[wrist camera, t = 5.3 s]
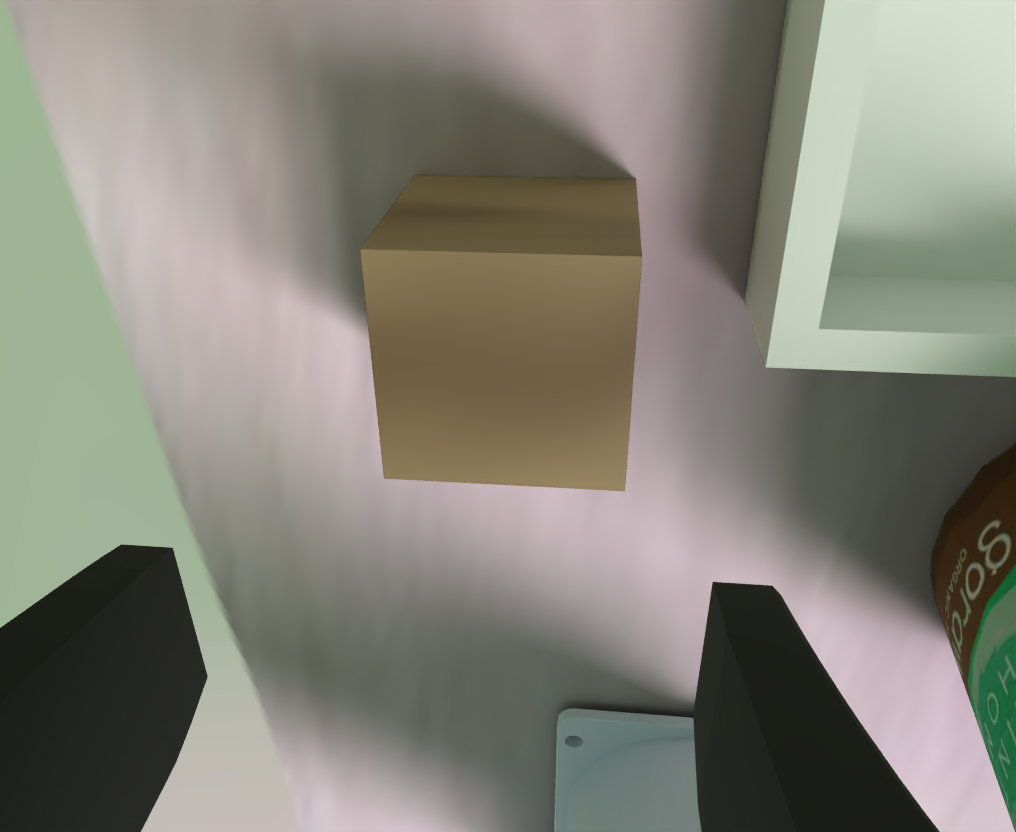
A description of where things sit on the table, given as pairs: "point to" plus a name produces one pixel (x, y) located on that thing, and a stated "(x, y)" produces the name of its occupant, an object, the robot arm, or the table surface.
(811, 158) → the counting tray
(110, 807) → the robot arm
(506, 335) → the walnut block
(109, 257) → the table surface
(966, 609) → the food container
